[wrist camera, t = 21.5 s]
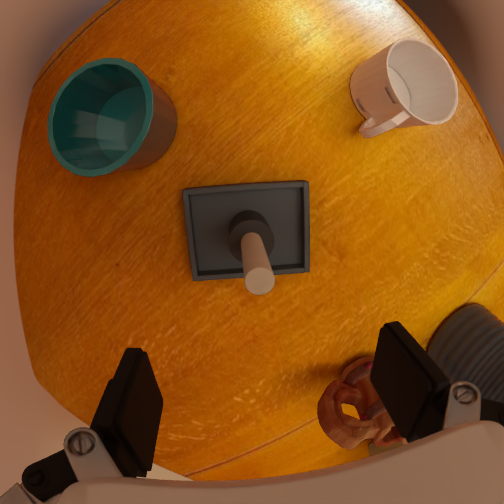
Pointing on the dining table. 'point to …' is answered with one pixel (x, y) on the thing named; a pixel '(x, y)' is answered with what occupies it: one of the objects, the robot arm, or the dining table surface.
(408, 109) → the mug
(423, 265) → the dining table surface
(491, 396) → the vase
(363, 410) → the mug
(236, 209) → the tray
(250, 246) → the brush
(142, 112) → the jar
